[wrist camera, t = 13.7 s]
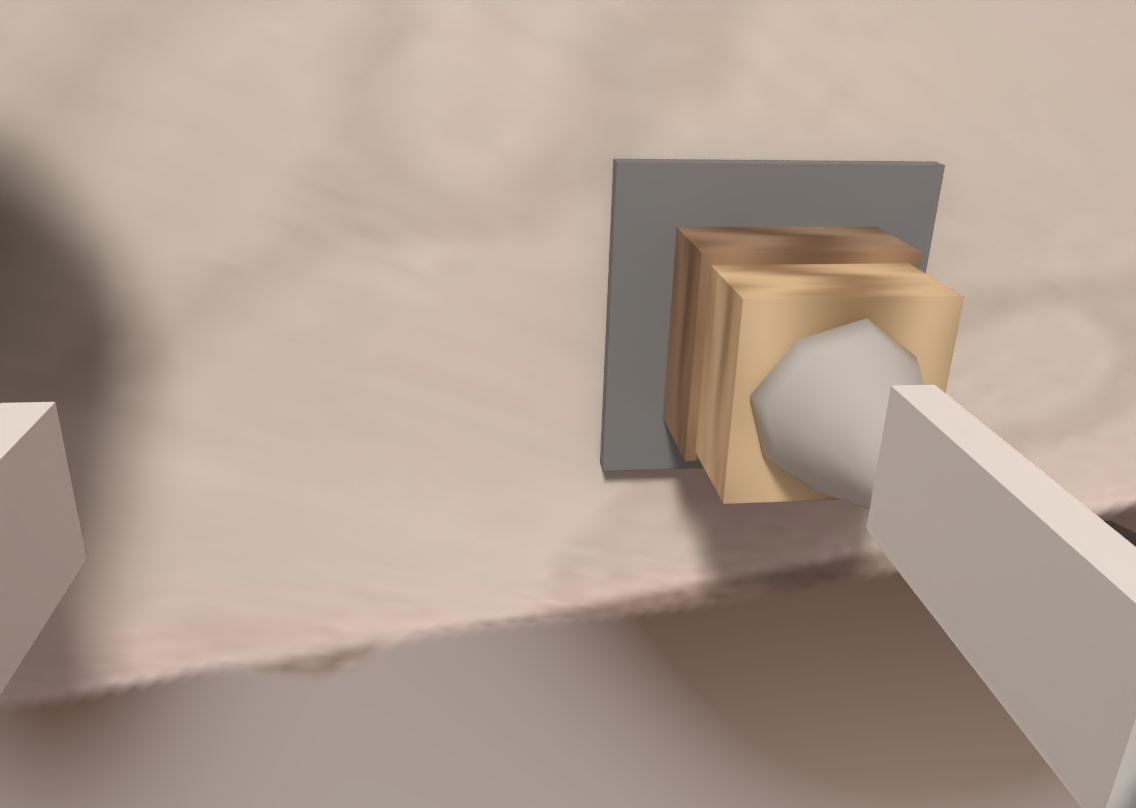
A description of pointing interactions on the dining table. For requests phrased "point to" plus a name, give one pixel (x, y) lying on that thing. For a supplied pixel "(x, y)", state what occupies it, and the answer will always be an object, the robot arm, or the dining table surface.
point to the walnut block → (746, 248)
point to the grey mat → (721, 199)
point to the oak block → (769, 329)
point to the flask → (832, 407)
